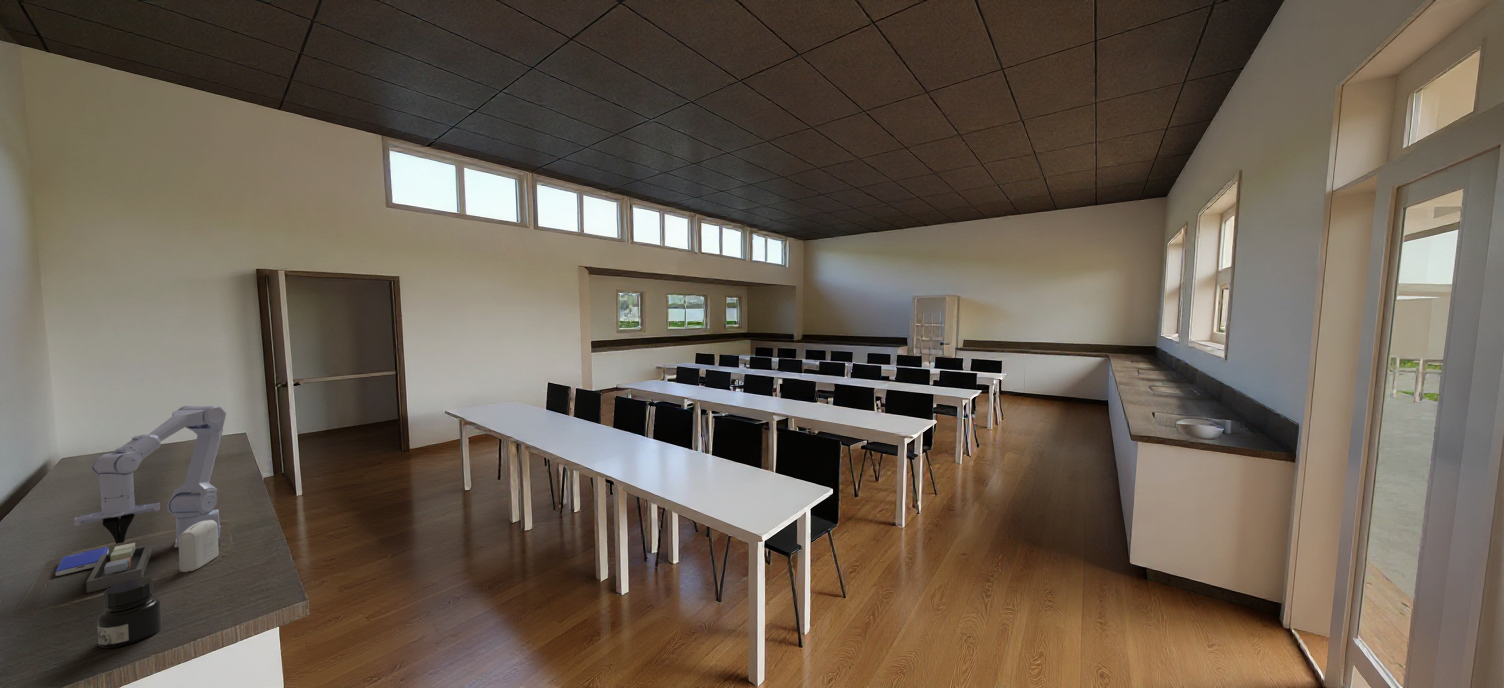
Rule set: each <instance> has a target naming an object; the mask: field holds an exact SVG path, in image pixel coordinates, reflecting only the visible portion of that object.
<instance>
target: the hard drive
mask: <svg viewBox="0 0 1504 688" xmlns="http://www.w3.org/2000/svg"><path fill="white" fill-rule="evenodd" d="M109 551H110V549H109V547H107V546H105V547H101V548H96V549H93V550H88V551H83V552H79V553H75V554H70V555H65V556H63V557H62V558H61V560H60V563H58V566H57V568H56V570H55V576H56V577H57V576H63V575H66V574H71V573H76V572H80V571H85V570H87V569H94V567H95V566H96V564H97V562H98V560H99V559H100V557H101V555H104V554H109Z"/></svg>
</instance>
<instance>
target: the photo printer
mask: <svg viewBox="0 0 1504 688" xmlns="http://www.w3.org/2000/svg"><path fill="white" fill-rule="evenodd" d="M219 554H220V553H219V538H218V525H217V523H216V522H215V521H213V520H207V521H201V522H198V523H196V524H194V525H192V526H190V527H189V528H188V529H186V530H185V531H184V532H183V533H182V534H181V535H180V537H179V547H178V558H179V559H178V560H179V571H180V572H182V573H189V571H190V572H194V571H195V570H198V569H200V568H202V567H204V566H205V565H206V564H208V563H210V562H211V561H212V560H214V559H216V558H217V557H219Z"/></svg>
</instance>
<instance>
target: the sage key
mask: <svg viewBox="0 0 1504 688" xmlns="http://www.w3.org/2000/svg"><path fill="white" fill-rule="evenodd" d="M111 553H112V554H111V556H110V558H111V561H116V560H120V559H125V558H129V557H131V558H132V556H133V548H128V549H124V550H119V551H114V552H113V551H112V552H111Z"/></svg>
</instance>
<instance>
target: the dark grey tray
mask: <svg viewBox="0 0 1504 688" xmlns="http://www.w3.org/2000/svg"><path fill="white" fill-rule="evenodd" d="M151 545H152V544H148V545H142V546H138V547H135V551H134V553H133V556H132V558H131V566H130V568H129V569H127V570H124V571H122V572H120V573H116V574H112V573H110V574H106V575H105V571H104V567H105V565H106V563H109V562H111V558H110V556H111V554H112V552H110V553H109V552H108V554H104V555H101V557H100V559H99V560H98V562H97V564H96V566H95V567H93V568H92V571H91V573H90V575H89V576H88V578H87V580H86V582H85V583H86V594H87V593H92V592H97V591H100V590H104V589H105V590H106V589H108V588H109V587H112V586H114V585H117V584H120V583H123V582H126V581H130V580H134V579H140V578H142V577H143V578H144V576H143V574H144V575H145V573H144V571H145V572H146V570H147V567H148V564H149V562H150V561H149V560H150V559H151V556H152V547H151ZM150 555H151V556H150ZM149 558H150V559H149ZM148 561H149V562H148ZM147 563H148V564H147ZM146 566H147V567H146ZM145 569H146V570H145Z"/></svg>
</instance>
